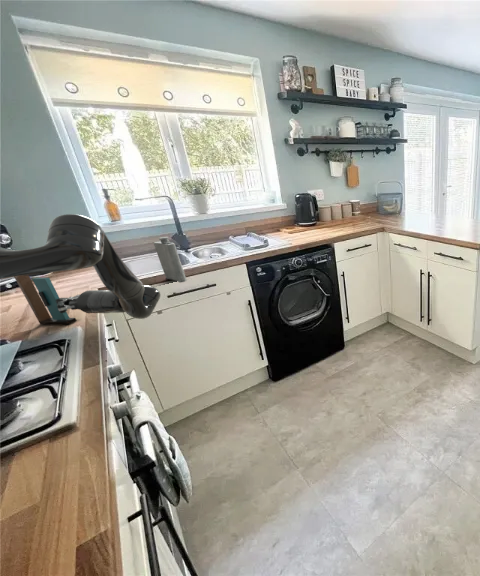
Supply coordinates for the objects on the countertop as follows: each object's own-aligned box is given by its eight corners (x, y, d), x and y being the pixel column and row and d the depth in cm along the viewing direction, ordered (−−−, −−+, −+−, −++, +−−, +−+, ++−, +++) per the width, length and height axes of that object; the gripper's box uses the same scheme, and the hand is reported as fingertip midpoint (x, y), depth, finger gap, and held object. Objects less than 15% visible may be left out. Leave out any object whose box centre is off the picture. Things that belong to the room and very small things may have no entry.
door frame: (67, 325, 105) (39, 270, 98) (40, 324, 107) (10, 271, 100) (76, 320, 108) (50, 267, 101) (50, 320, 110) (22, 268, 103)
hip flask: (164, 278, 148) (150, 237, 141) (173, 275, 151) (160, 235, 144) (180, 282, 139) (166, 239, 132) (190, 279, 142) (176, 237, 135)
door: (62, 321, 105) (41, 279, 99) (50, 320, 106) (28, 280, 100) (72, 316, 108) (52, 276, 102) (60, 316, 109) (39, 276, 103)
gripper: (115, 283, 105) (75, 284, 108) (73, 299, 93) (29, 299, 96) (124, 303, 108) (84, 303, 111) (84, 321, 96) (41, 320, 99)
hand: (59, 301), depth 104 cm, fingers closed
